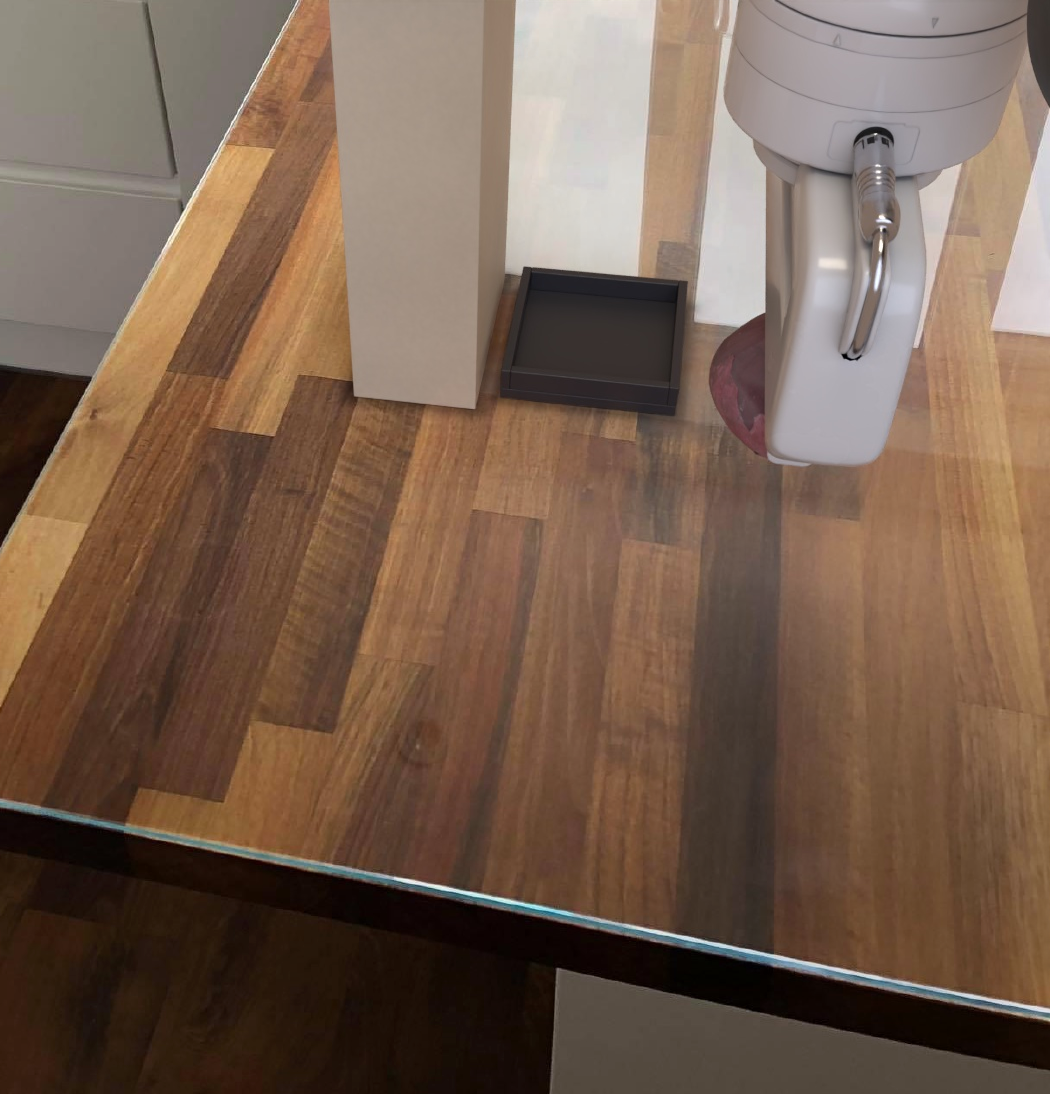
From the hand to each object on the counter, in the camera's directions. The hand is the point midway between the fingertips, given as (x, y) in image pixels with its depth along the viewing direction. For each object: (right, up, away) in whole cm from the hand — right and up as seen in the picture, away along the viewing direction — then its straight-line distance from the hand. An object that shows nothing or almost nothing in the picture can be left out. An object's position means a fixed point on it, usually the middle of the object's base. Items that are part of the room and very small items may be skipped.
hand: (788, 385), depth 54 cm
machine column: (-13, +8, +39) cm, 42 cm away
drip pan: (-2, +7, +38) cm, 38 cm away
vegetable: (0, -3, +3) cm, 4 cm away
